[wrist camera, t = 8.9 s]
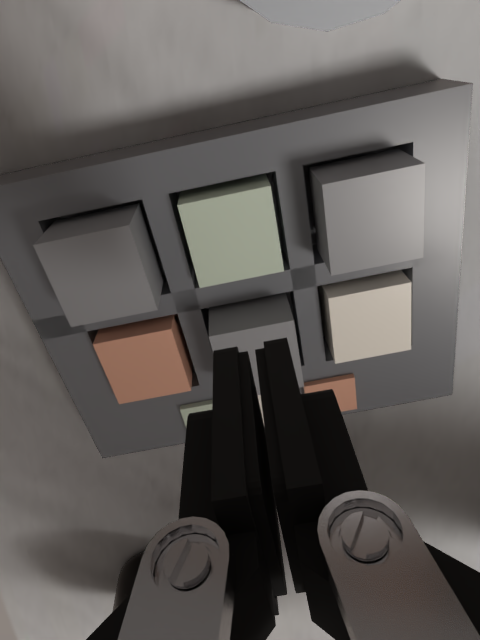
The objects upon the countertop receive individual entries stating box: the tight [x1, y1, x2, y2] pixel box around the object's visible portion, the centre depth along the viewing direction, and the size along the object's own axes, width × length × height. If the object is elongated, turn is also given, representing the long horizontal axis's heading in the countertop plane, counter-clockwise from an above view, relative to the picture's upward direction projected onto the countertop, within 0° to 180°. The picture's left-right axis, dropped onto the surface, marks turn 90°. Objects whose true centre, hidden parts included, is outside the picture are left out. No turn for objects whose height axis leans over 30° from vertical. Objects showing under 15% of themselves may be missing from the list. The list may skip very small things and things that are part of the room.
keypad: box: [0, 79, 473, 458], centre depth 20 cm, size 18×14×4 cm
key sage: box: [177, 173, 284, 288], centre depth 18 cm, size 3×3×2 cm
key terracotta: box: [93, 314, 193, 404], centre depth 21 cm, size 3×3×2 cm
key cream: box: [318, 270, 412, 364], centre depth 20 cm, size 3×3×2 cm
